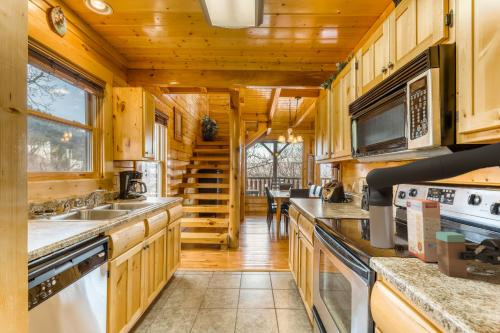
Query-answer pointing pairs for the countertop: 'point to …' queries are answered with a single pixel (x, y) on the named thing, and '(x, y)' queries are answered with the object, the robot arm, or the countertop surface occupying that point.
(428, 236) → the cracker box
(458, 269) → the walnut block
